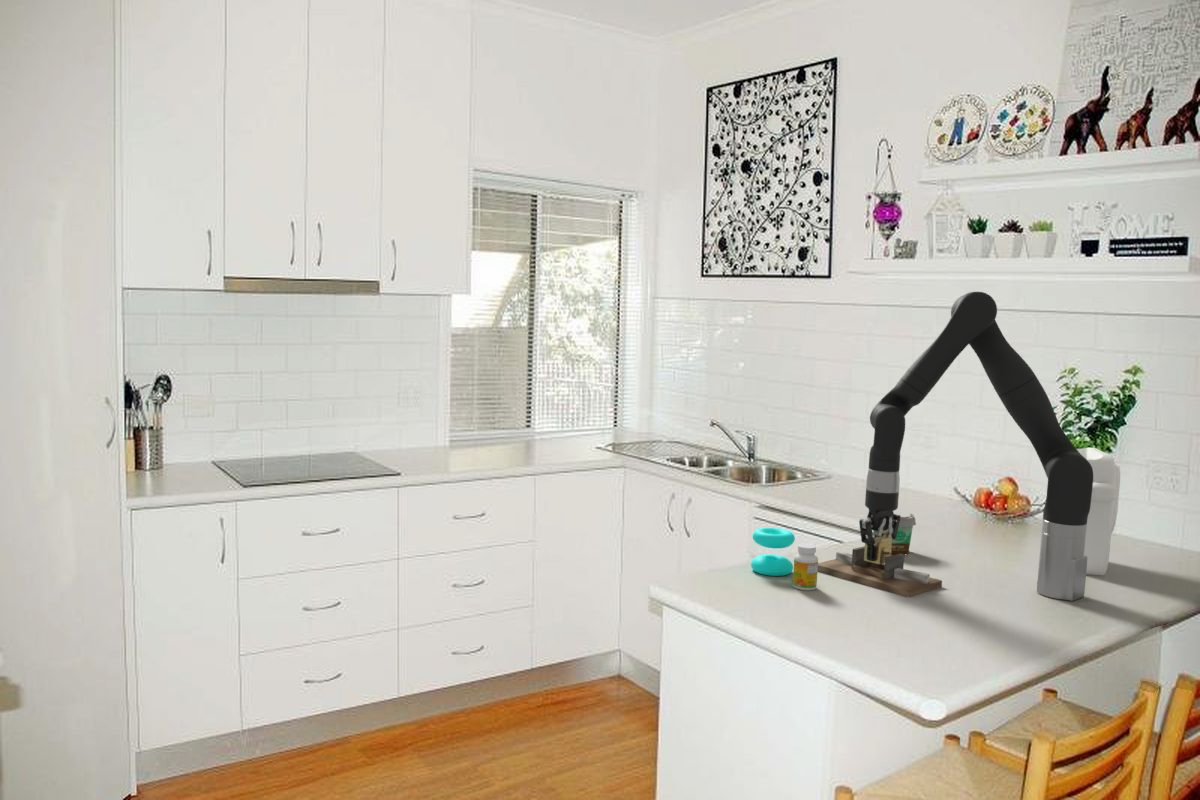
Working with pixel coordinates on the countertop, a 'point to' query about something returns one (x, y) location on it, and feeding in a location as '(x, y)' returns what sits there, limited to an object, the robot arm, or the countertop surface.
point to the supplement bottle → (805, 568)
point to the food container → (903, 535)
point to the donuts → (770, 562)
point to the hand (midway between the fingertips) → (877, 558)
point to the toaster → (1101, 509)
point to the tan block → (881, 549)
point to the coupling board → (879, 573)
